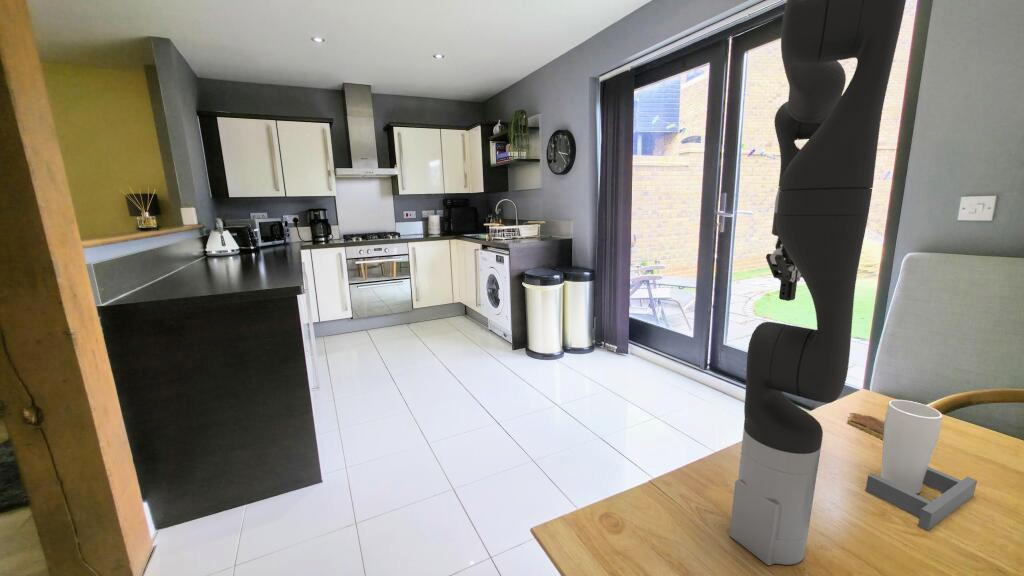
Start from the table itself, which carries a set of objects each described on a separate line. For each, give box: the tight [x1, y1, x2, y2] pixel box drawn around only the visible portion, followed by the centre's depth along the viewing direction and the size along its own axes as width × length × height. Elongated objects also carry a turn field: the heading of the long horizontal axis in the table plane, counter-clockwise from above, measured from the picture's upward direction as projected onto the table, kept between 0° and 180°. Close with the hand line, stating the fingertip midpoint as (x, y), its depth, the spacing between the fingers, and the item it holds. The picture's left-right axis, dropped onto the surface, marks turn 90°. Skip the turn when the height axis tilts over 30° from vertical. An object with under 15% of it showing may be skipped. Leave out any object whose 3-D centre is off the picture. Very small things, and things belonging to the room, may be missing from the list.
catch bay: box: [864, 466, 978, 531], centre depth 70 cm, size 17×9×3 cm, turn 116°
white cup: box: [879, 399, 943, 495], centre depth 71 cm, size 7×7×15 cm
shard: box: [846, 412, 885, 441], centre depth 90 cm, size 11×8×2 cm
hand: (786, 299), depth 81 cm, fingers closed
